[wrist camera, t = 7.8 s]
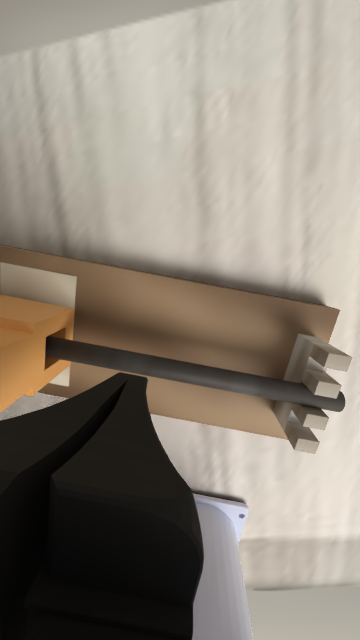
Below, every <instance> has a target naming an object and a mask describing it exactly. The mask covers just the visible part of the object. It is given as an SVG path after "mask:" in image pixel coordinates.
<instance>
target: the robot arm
mask: <svg viewBox="0 0 360 640" xmlns="http://www.w3.org/2000/svg"><path fill="white" fill-rule="evenodd" d="M147 383H148V379H147V378H146V377H143V376H138V375H133V374H127V373H122V372H119V373H117V374H115V375H113V376H112V377H110V378H108V379H107V380H105V381H103V382H101V383H99V384H98V385H96V386H94V387H92V388H90V389H88V390H86V391H84V392H82V393H80V394H78V395H76V396H74V397H72V398H69V399H67V400H65V401H62V402H60V403H57V404H55V405H52V406H49V407H47V408H44V409H41V410H37V411H34V412H31V413H27V414H24V415H21V416H17V417H14V418H10V419H6V420H2V421H0V640H254V638H253V633H252V627H251V621H250V615H249V609H248V602H247V597H246V590H245V584H244V578H243V572H242V566H241V560H240V554H239V549H238V543H239V540H240V537H241V534H242V531H243V528H244V525H245V522H246V519H247V516H248V513H249V509H248V506H247V505H246V504H245V503H240V502H235V501H230V500H225V499H219V498H214V497H209V496H204V495H199V494H193V492H192V490H191V489H190V487H189V486H188V485H187V484H186V482H185V481H184V480H183V478H182V477H181V476H180V475H179V473H178V472H177V471H176V469H175V467H174V466H173V464H172V463H171V461H170V460H169V458H168V456H167V454H166V452H165V450H164V448H163V447H162V445H161V443H160V441H159V438H158V436H157V434H156V431H155V429H154V426H153V423H152V420H151V416H150V412H149V408H148V403H147V396H146V389H147Z"/></svg>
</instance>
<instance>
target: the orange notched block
mask: <svg viewBox="0 0 360 640" xmlns="http://www.w3.org/2000/svg"><path fill="white" fill-rule="evenodd" d="M74 313H75V308H70V307H64V306H59V305H54V304H48V303H43V302H38V301H33V300H27V299H22V298H17V297H11V296H6V295H1V294H0V412H2V411H3V410H4V409H6V408H7V407H8V406H9V405H11V404H12V403H13V402H15V401H16V400H17V399H19V398H20V397H21V396H22V395H26V396H31V397H32V396H33V395H34V394H36V393H37V392H38V391H39V390H40V389H42V388H43V387H44V386H45V385H46V384H48V383H49V382H50V381H51V380H53V379H54V378H55V377H56V376H57V375H59V374H60V373H61V372H62V371H63V370H65V369H66V368H67V367H68V366H70V365H71V361H66V360H61V359H55V358H50V357H45V346H46V337H47V336H52V337H58V338H63V339H68V340H73V327H74Z"/></svg>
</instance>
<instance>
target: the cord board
mask: <svg viewBox="0 0 360 640" xmlns="http://www.w3.org/2000/svg"><path fill="white" fill-rule="evenodd" d="M0 294H1V295H6V296H11V297H17V298H22V299H27V300H33V301H38V302H43V303H48V304H54V305H59V306H64V307H70V308H75V313H74V327H73V340H68V339H63V338H58V337H52V336H47V337H46V346H45V357H50V358H55V359H61V360H66V361H71V365H70V366H68V367H67V368H66V369H65V370H63V371H62V372H61V373H60V374H59V375H57V376H56V377H55V378H54V379H53V380H51V381H50V382H49V383H48V384H46V385H45V386H44V387H43V388H42V389H40V390H39V391H38V392H40V393H45V394H50V395H55V396H61V397H66V398H72V397H74V396H76V395H78V394H80V393H82V392H84V391H86V390H88V389H90V388H92V387H94V386H96V385H98V384H99V383H101V382H103V381H105V380H107V379H108V378H110V377H112V376H113V375H115V374H117V373H119V372H122V373H127V374H133V375H138V376H143V377H146V378H147V379H148V383H147V389H146V396H147V403H148V408H149V412H150V414H155V415H161V416H166V417H171V418H177V419H182V420H187V421H192V422H198V423H203V424H208V425H213V426H219V427H224V428H229V429H235V430H240V431H245V432H250V433H256V434H261V435H266V436H271V437H277V438H282V439H287V440H289V441H290V443H291V445H292V447H293V449H294V450H297V451H302V452H307V453H313V454H315V453H316V450H317V448H318V445H319V443H320V442H319V441H318V439H317V438H316V437H315V435H314V434H313V433H312V431H311V430H310V428H314V429H320V430H325V427H326V424H327V422H328V419H329V417H328V416H327V415H326V414H325V413H324V412H323V411H322V410H321V409H325V410H330V411H336V412H341V411H342V410H343V409H344V407H345V397H344V395H343V393H342V392H341V391H340V388H341V386H342V385H340V384H339V383H338V382H337V381H335V380H334V379H333V378H332V377H330V376H329V375H328V374H327V373H325V372H326V370H327V368H330V369H335V370H340V371H346V372H347V370H348V367H349V365H350V362H351V360H352V357H350V356H349V355H347V354H345V353H343V352H342V351H340V350H338V349H337V348H335V347H333V346H331V345H330V344H328V343H329V340H330V337H331V334H332V331H333V328H334V326H335V323H336V320H337V317H338V314H339V312H340V310H338V309H335V308H332V307H328V306H324V305H319V304H313V303H308V302H303V301H297V300H292V299H287V298H281V297H276V296H271V295H265V294H260V293H255V292H249V291H244V290H239V289H233V288H228V287H223V286H217V285H212V284H207V283H201V282H196V281H191V280H185V279H180V278H175V277H169V276H164V275H159V274H153V273H148V272H143V271H137V270H132V269H127V268H121V267H116V266H111V265H105V264H100V263H95V262H89V261H84V260H78V259H73V258H68V257H62V256H57V255H52V254H46V253H41V252H36V251H30V250H25V249H20V248H14V247H9V246H4V245H0Z"/></svg>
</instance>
